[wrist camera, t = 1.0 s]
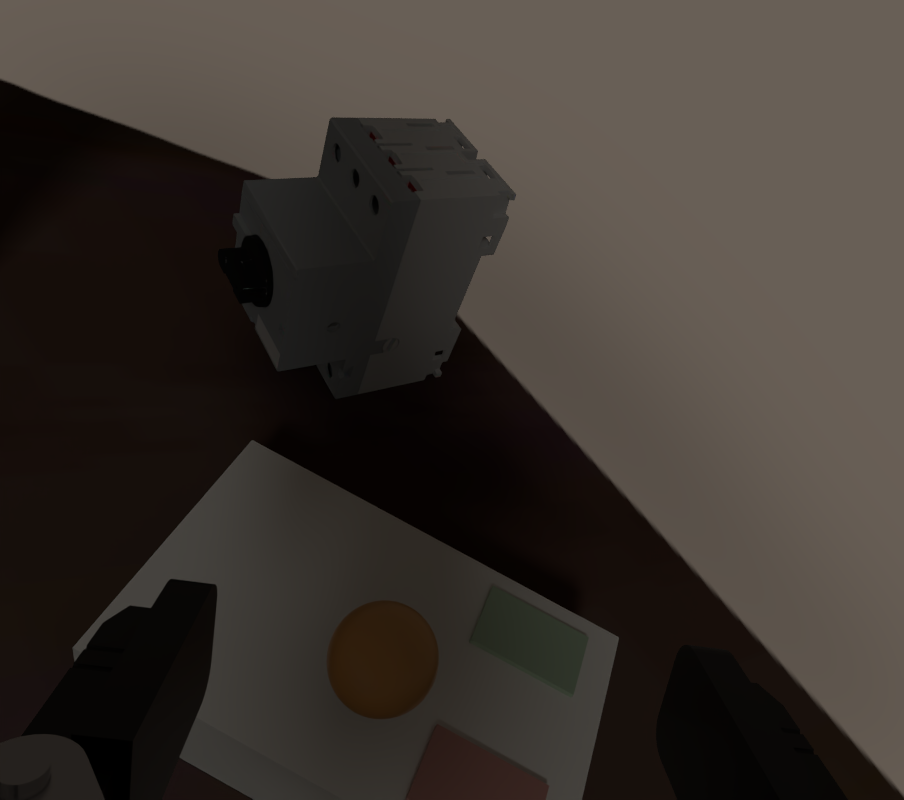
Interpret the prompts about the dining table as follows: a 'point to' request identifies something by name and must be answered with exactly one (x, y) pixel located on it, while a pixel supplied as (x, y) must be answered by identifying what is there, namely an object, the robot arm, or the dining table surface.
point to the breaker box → (313, 623)
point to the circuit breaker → (367, 252)
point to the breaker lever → (382, 659)
